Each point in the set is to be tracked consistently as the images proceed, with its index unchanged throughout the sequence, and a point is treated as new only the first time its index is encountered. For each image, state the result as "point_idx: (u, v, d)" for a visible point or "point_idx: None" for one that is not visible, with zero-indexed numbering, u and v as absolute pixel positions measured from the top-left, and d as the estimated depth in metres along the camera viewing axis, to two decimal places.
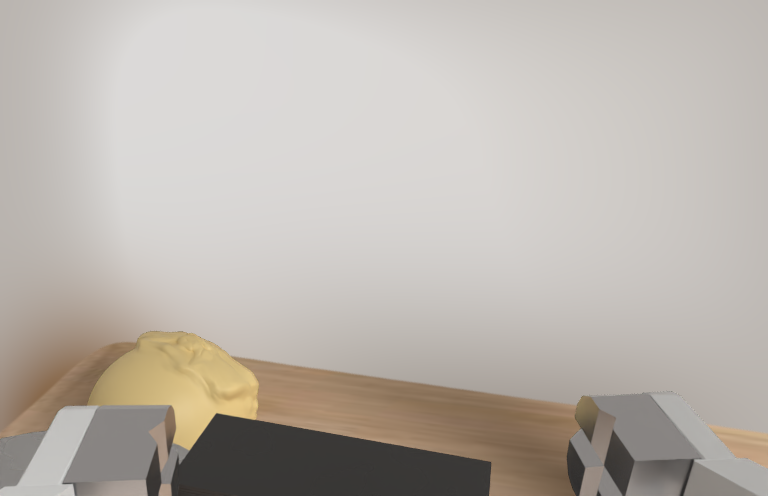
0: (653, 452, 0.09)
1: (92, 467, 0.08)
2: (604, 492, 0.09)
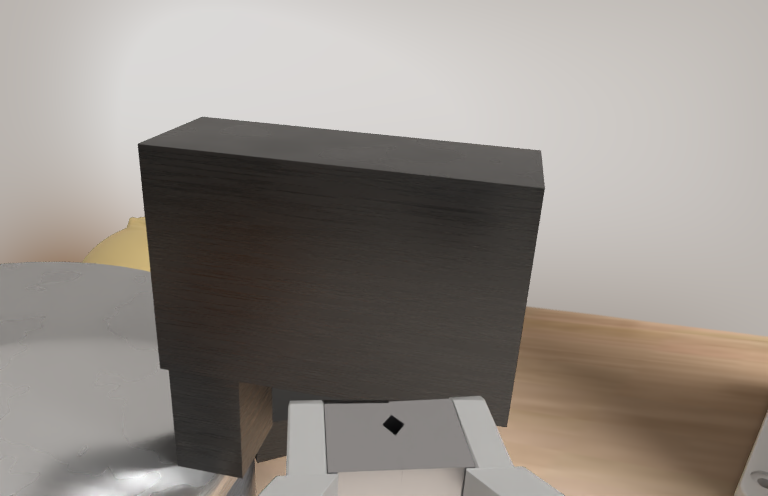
0: (427, 460, 0.08)
1: (347, 457, 0.08)
2: None
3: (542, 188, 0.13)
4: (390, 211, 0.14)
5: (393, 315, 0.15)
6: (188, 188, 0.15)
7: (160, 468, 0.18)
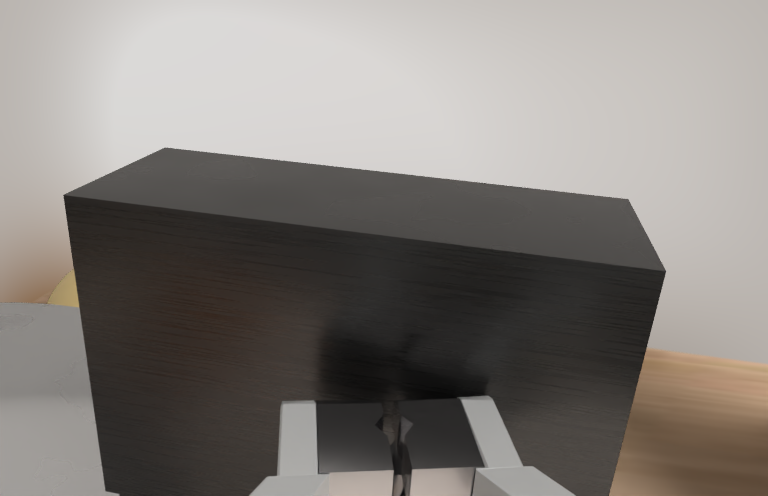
0: (437, 460, 0.08)
1: (339, 458, 0.08)
2: None
3: (662, 270, 0.09)
4: (431, 297, 0.10)
5: None
6: (137, 258, 0.10)
7: None
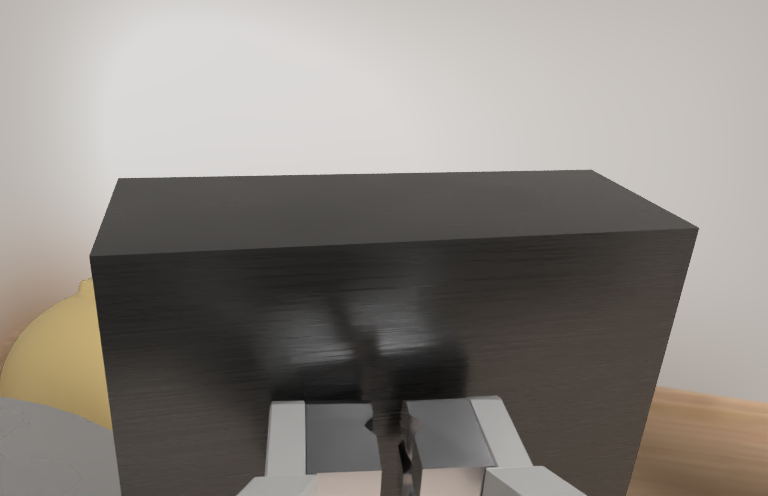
0: (447, 459, 0.08)
1: (327, 458, 0.08)
2: None
3: (696, 228, 0.10)
4: (512, 290, 0.10)
5: None
6: (191, 314, 0.09)
7: None
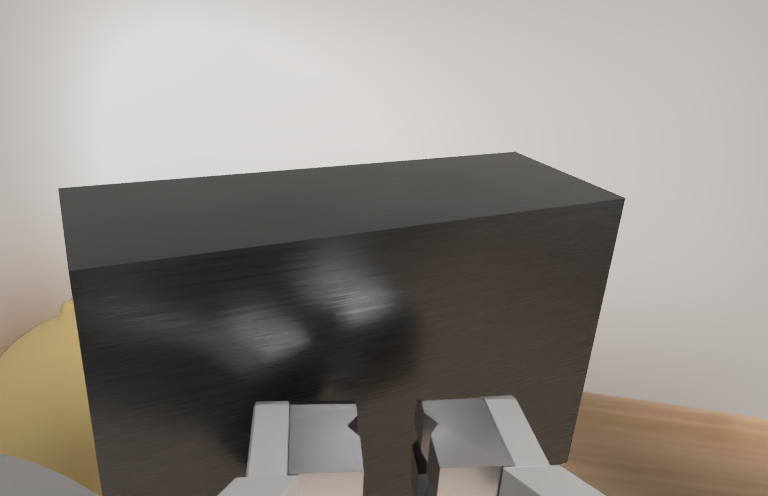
0: (464, 459, 0.08)
1: (309, 458, 0.08)
2: None
3: (623, 198, 0.11)
4: (473, 268, 0.10)
5: (466, 393, 0.12)
6: (175, 321, 0.08)
7: None
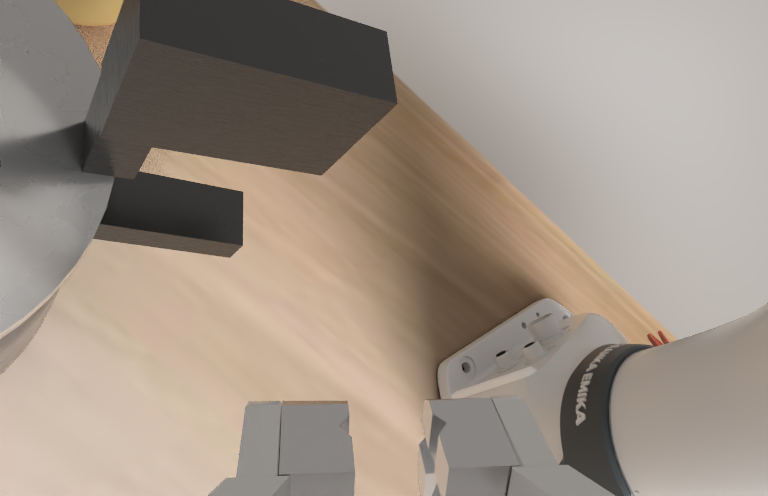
0: (473, 459, 0.08)
1: (301, 460, 0.08)
2: None
3: (396, 103, 0.23)
4: (309, 98, 0.22)
5: (284, 134, 0.24)
6: (171, 66, 0.20)
7: (70, 175, 0.26)
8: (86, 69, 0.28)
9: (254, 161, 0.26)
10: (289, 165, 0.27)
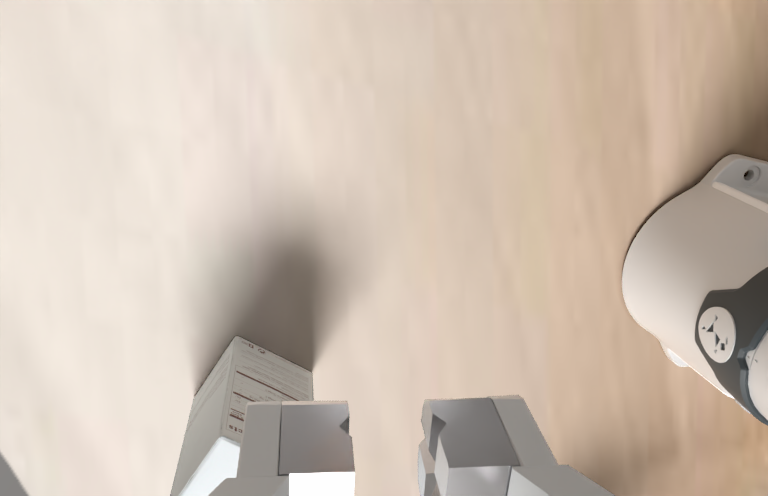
0: (473, 458, 0.08)
1: (301, 460, 0.08)
2: None
3: None
4: None
5: None
6: None
7: None
8: None
9: None
10: None
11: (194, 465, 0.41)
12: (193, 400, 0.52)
